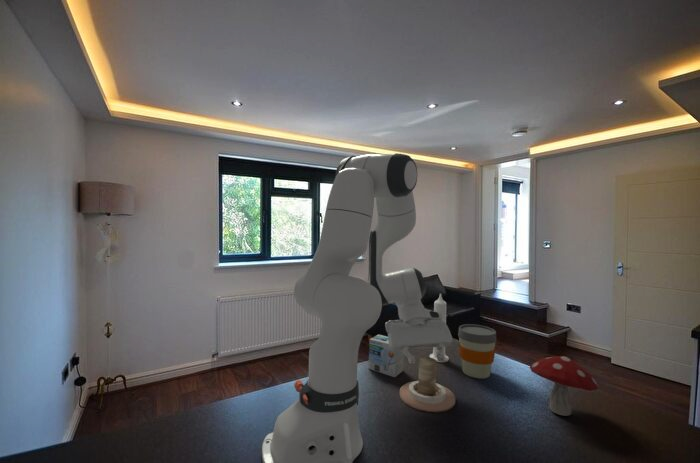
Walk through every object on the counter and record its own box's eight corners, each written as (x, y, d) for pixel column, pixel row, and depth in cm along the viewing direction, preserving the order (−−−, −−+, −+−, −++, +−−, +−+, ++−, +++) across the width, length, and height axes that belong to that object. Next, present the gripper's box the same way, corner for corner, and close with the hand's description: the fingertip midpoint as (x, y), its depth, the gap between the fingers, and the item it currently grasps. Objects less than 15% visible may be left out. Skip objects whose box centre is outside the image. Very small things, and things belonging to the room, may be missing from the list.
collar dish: (419, 417, 84) (419, 408, 84) (389, 388, 99) (390, 380, 99) (467, 405, 90) (467, 397, 90) (433, 380, 105) (433, 373, 105)
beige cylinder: (424, 400, 91) (425, 365, 91) (414, 391, 96) (415, 358, 96) (439, 396, 93) (440, 362, 93) (428, 388, 98) (429, 355, 98)
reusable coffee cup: (491, 366, 116) (492, 325, 116) (499, 383, 104) (500, 337, 104) (455, 362, 119) (456, 322, 119) (458, 378, 107) (460, 333, 107)
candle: (449, 363, 119) (451, 296, 118) (429, 361, 120) (431, 295, 120) (447, 355, 126) (449, 292, 125) (429, 354, 127) (430, 291, 127)
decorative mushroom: (520, 393, 98) (522, 344, 98) (578, 399, 95) (580, 349, 95) (542, 424, 82) (543, 366, 82) (612, 433, 79) (614, 373, 79)
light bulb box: (367, 369, 112) (368, 338, 112) (377, 362, 118) (378, 333, 118) (395, 377, 106) (396, 345, 106) (404, 370, 112) (404, 340, 112)
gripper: (386, 315, 100) (397, 359, 90) (445, 312, 104) (461, 354, 95) (381, 325, 104) (391, 368, 95) (438, 322, 109) (453, 363, 99)
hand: (427, 361), depth 95 cm, fingers open, 8 cm apart
